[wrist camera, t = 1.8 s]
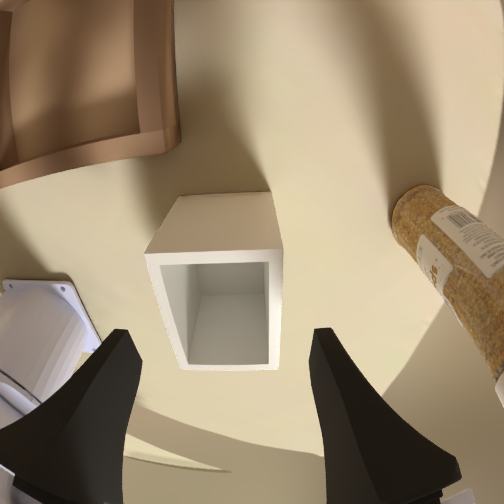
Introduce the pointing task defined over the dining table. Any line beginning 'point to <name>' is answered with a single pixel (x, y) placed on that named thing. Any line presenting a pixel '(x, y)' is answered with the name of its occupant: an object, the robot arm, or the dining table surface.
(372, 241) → the dining table surface
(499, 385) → the sprinkles bottle
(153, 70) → the walnut crate
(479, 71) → the dining table surface
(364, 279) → the dining table surface
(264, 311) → the small grey crate
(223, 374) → the dining table surface
